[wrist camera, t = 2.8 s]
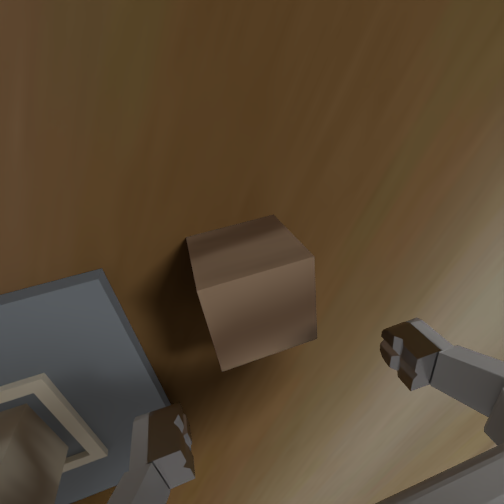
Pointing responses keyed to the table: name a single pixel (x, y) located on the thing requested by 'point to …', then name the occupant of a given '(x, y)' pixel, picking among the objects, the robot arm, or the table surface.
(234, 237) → the walnut block
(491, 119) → the table surface
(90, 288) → the board
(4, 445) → the birch block
